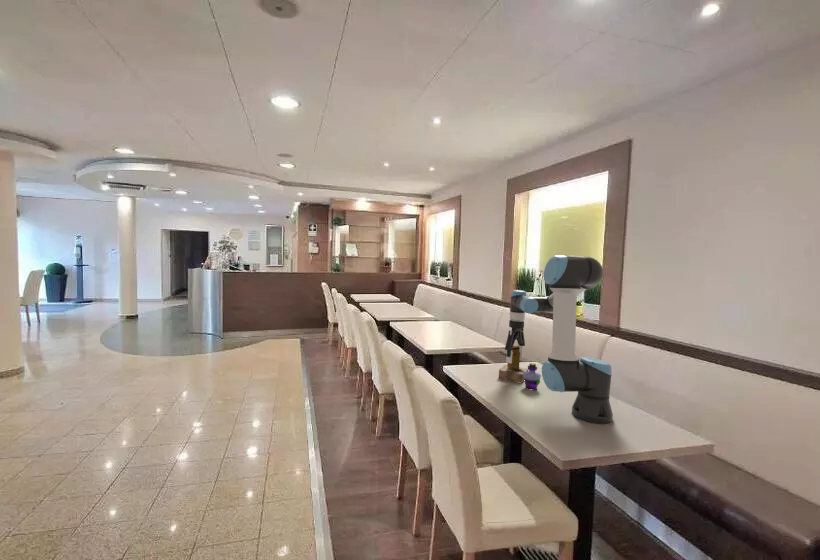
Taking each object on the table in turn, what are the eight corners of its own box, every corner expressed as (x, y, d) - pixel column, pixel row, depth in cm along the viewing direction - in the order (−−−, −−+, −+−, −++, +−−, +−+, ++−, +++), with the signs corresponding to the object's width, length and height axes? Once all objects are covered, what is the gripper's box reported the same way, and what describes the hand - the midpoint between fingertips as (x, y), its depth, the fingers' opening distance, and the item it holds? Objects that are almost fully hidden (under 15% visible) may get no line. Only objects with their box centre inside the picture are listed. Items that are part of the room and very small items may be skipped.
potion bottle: (539, 392, 185) (540, 367, 184) (520, 388, 188) (521, 364, 188) (541, 387, 193) (543, 363, 192) (523, 383, 196) (525, 360, 195)
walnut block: (527, 378, 207) (528, 368, 207) (521, 384, 197) (522, 374, 197) (505, 373, 214) (506, 364, 213) (498, 379, 203) (499, 369, 203)
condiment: (505, 366, 209) (507, 344, 208) (521, 368, 208) (523, 345, 207) (507, 370, 202) (508, 347, 201) (524, 372, 201) (525, 349, 200)
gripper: (519, 316, 215) (516, 354, 217) (499, 321, 196) (497, 363, 197) (532, 318, 211) (530, 357, 212) (514, 324, 191) (511, 366, 193)
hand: (514, 360), depth 205 cm, fingers open, 13 cm apart
